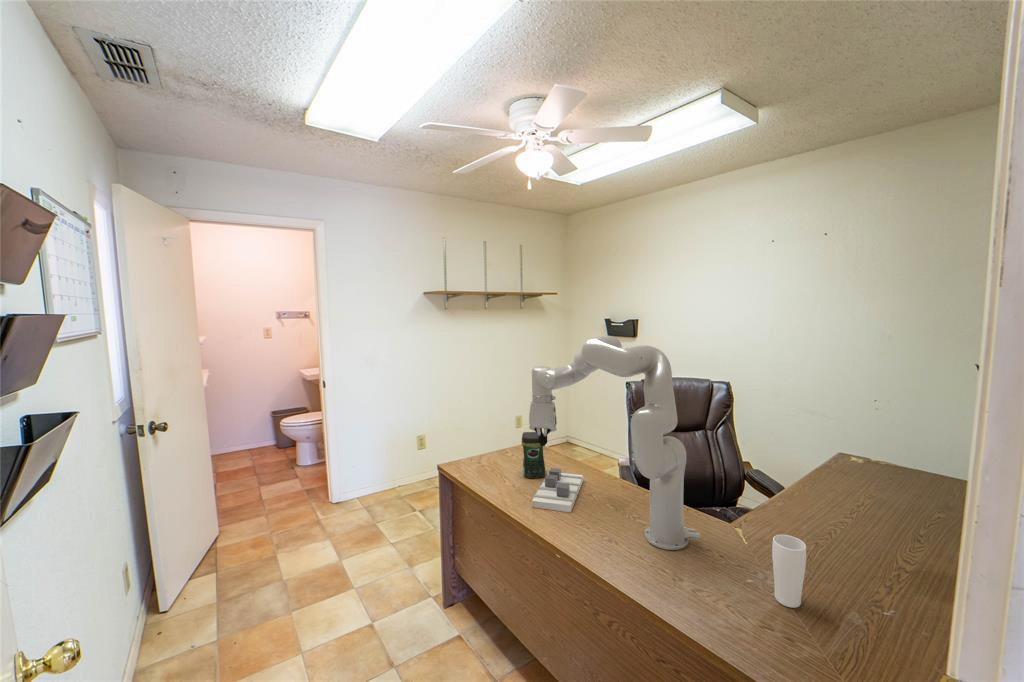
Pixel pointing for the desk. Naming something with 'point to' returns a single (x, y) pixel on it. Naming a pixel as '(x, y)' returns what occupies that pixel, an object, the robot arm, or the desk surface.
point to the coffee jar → (532, 456)
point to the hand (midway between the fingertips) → (543, 444)
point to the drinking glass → (788, 569)
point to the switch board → (548, 495)
